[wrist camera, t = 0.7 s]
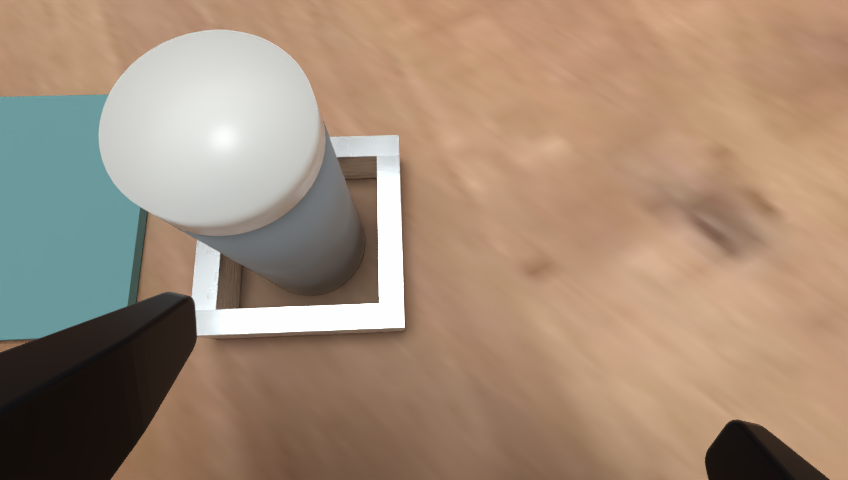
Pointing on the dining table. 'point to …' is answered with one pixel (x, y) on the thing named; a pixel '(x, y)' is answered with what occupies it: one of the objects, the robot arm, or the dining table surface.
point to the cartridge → (235, 157)
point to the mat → (61, 219)
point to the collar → (225, 320)
